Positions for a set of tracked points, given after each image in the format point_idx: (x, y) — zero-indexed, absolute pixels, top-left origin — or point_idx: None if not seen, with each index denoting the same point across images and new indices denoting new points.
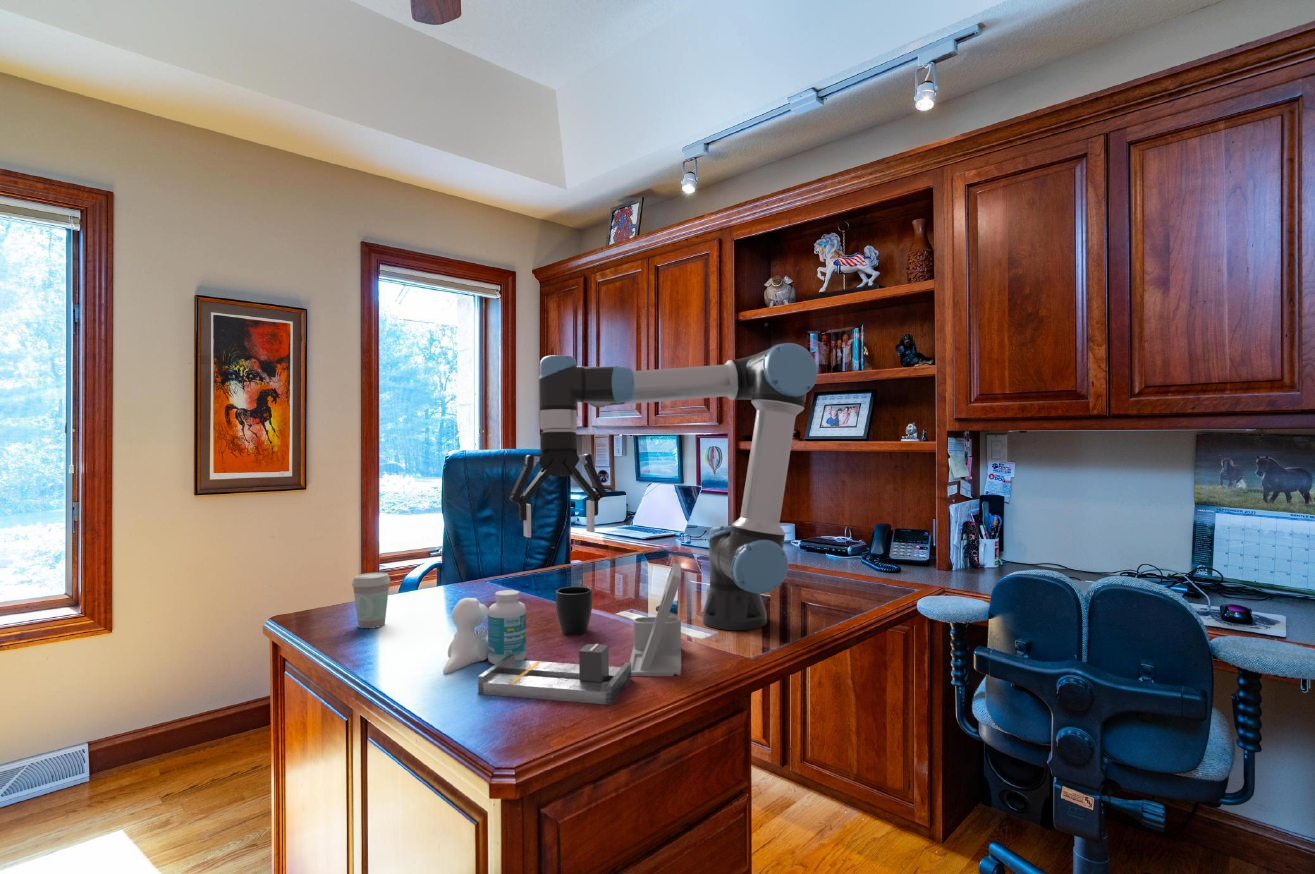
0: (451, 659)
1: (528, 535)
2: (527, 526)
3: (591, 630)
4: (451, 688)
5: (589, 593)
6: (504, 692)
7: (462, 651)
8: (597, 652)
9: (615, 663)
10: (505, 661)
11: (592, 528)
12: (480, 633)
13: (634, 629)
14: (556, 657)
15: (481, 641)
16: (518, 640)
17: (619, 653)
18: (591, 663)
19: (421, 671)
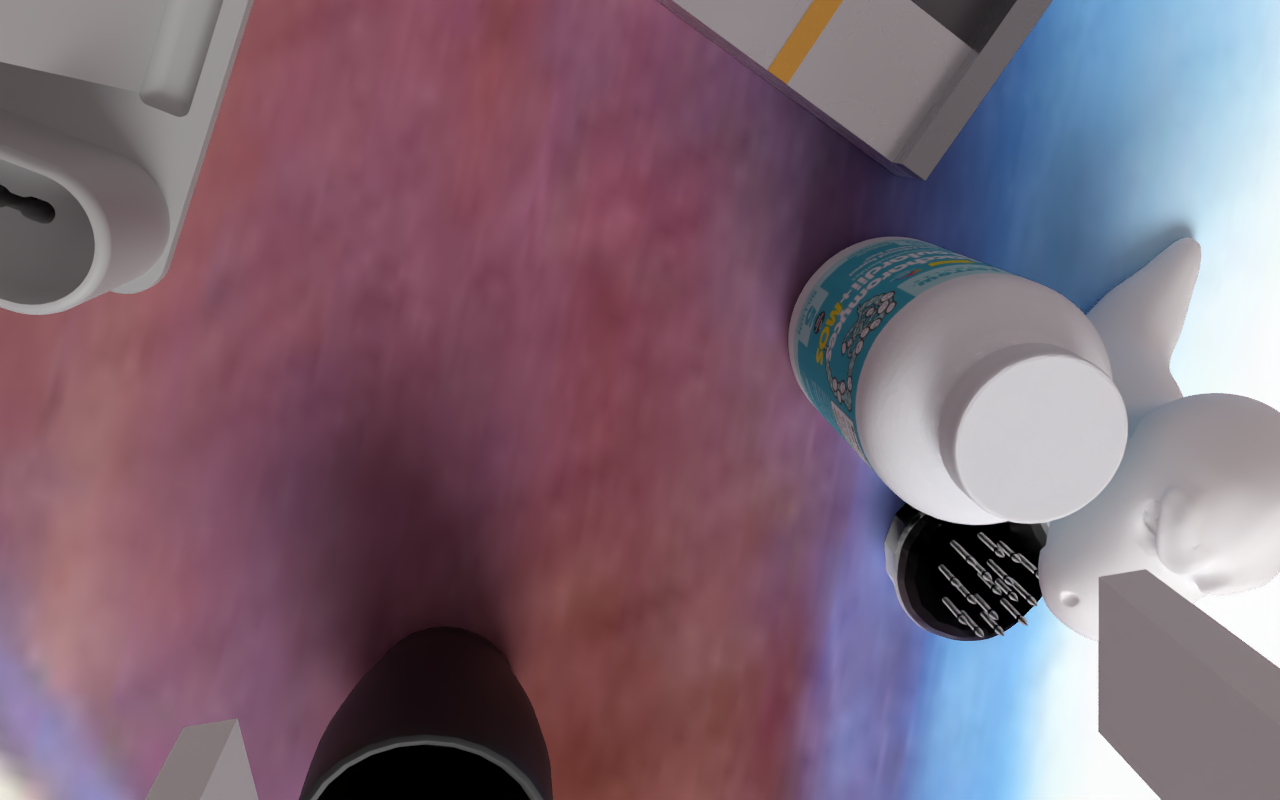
0: (1175, 306)
1: (1147, 581)
2: (1236, 641)
3: (343, 685)
4: (1196, 16)
5: (324, 765)
6: None
7: (1132, 343)
8: None
9: (333, 50)
10: (969, 66)
11: (202, 753)
12: None
13: (127, 223)
14: (629, 283)
15: None
16: (878, 263)
17: (271, 217)
18: None
19: (1273, 320)
